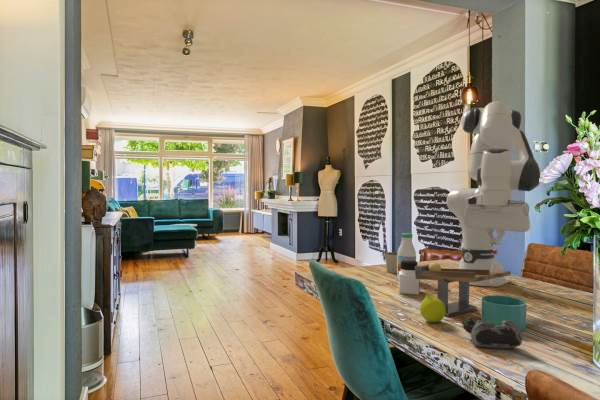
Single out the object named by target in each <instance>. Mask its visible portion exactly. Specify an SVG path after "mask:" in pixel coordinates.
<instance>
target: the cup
mask: <svg viewBox="0 0 600 400" xmlns="http://www.w3.org/2000/svg"><path fill="white" fill-rule="evenodd" d="M480 320H481V321H487V322H493V323H495V324H496V325H498V326H502V321H504V320H510V321H512V322H513V323H514V324H515V325H516V326H517V327H518V328H519V330H520V331H521V332H523V331H526V328H527V301H525V300H523V299H521V298H519V297H513V296H511V295H510V296H508V295H498V294H497V295H495V294H493V295H491V294H490V295H489V294H488V295H484V296H482V297H481V319H480Z"/></svg>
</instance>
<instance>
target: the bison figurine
mask: <svg viewBox="0 0 600 400" xmlns="http://www.w3.org/2000/svg"><path fill="white" fill-rule="evenodd" d="M461 324H462V325H463V326H462V328H463V330H464V331H465V332H466V333H469V334H470V338H471V344H472V345H473V346H475V347H479V348H488V349H489V348H490V349H497V350H503V349H511V348H517V347H519V346H521V345H522V343H523V334H522V331H520V330H519V328H518V327H517V326H516V325H515V324H514V323H513V322H512V321H510V320H504V321H502V326H498V325H496V324H495V323H493V322H487V321H481V319H479V320H477V321H476V320H475V319H472V318H471V317H469V316H467V317H466V319H465V320H464V321H463V320H461Z"/></svg>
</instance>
